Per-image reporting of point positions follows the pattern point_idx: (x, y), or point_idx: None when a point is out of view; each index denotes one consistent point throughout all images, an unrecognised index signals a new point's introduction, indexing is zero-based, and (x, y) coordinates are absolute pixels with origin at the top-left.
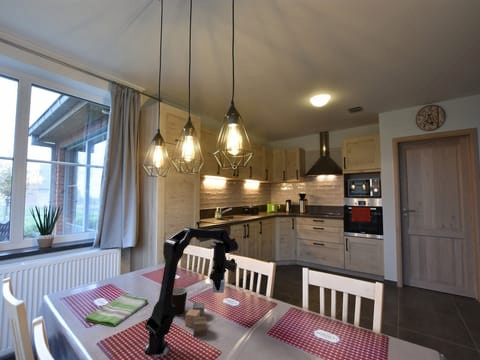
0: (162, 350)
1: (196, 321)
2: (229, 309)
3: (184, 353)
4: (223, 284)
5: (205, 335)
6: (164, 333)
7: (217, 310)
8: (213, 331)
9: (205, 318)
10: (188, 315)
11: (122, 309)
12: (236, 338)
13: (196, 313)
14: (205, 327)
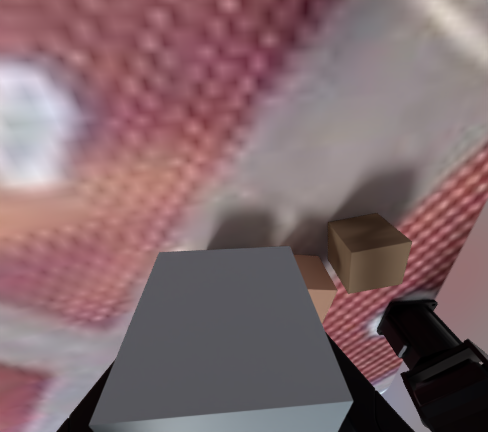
0: (427, 304)
1: (384, 279)
2: (137, 135)
3: (451, 252)
4: (329, 346)
5: (377, 214)
6: (479, 349)
7: (169, 202)
8: (354, 189)
9: (366, 252)
10: (325, 314)
11: None
12: (439, 61)
13: (314, 295)
14: (397, 232)
